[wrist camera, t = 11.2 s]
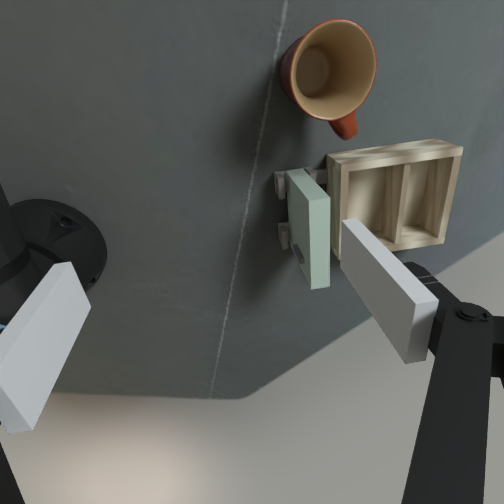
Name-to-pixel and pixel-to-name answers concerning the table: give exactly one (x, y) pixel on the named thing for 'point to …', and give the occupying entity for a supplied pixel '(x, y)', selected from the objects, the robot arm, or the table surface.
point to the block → (309, 227)
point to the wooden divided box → (387, 192)
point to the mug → (331, 73)
